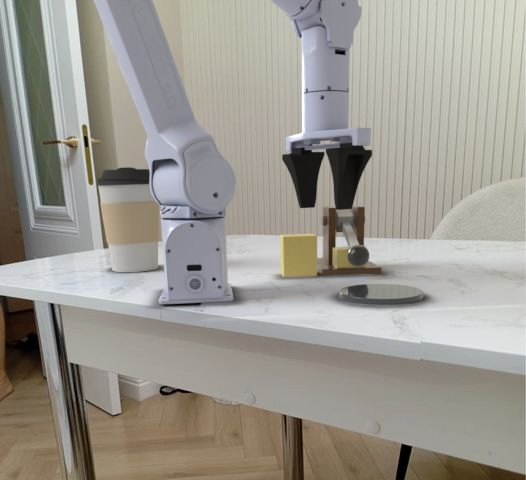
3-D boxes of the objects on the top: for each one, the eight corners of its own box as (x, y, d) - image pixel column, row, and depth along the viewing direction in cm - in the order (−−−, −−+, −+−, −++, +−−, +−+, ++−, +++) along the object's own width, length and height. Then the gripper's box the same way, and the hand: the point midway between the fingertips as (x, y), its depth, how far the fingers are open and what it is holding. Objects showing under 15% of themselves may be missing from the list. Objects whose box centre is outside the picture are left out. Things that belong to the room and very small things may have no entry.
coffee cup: (167, 271, 88) (160, 165, 83) (104, 274, 86) (94, 166, 81) (162, 263, 96) (155, 167, 92) (105, 266, 94) (95, 168, 90)
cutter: (381, 274, 80) (383, 207, 77) (322, 277, 79) (322, 209, 76) (359, 262, 91) (360, 204, 89) (308, 264, 90) (308, 205, 88)
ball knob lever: (370, 270, 75) (373, 251, 73) (348, 271, 75) (350, 252, 73) (349, 223, 85) (352, 205, 83) (330, 224, 85) (332, 206, 83)
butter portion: (317, 277, 79) (317, 235, 77) (283, 278, 79) (283, 236, 77) (313, 273, 82) (313, 233, 80) (281, 275, 81) (280, 234, 80)
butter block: (365, 267, 80) (366, 248, 79) (336, 268, 79) (336, 249, 79) (360, 264, 82) (360, 246, 82) (332, 265, 82) (332, 247, 81)
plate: (435, 304, 60) (436, 296, 60) (349, 308, 60) (349, 300, 59) (407, 289, 69) (407, 282, 69) (331, 292, 68) (331, 285, 68)
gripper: (391, 88, 68) (387, 208, 72) (315, 102, 80) (315, 205, 84) (344, 84, 65) (342, 211, 68) (271, 100, 76) (273, 208, 80)
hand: (324, 208), depth 76 cm, fingers open, 7 cm apart
